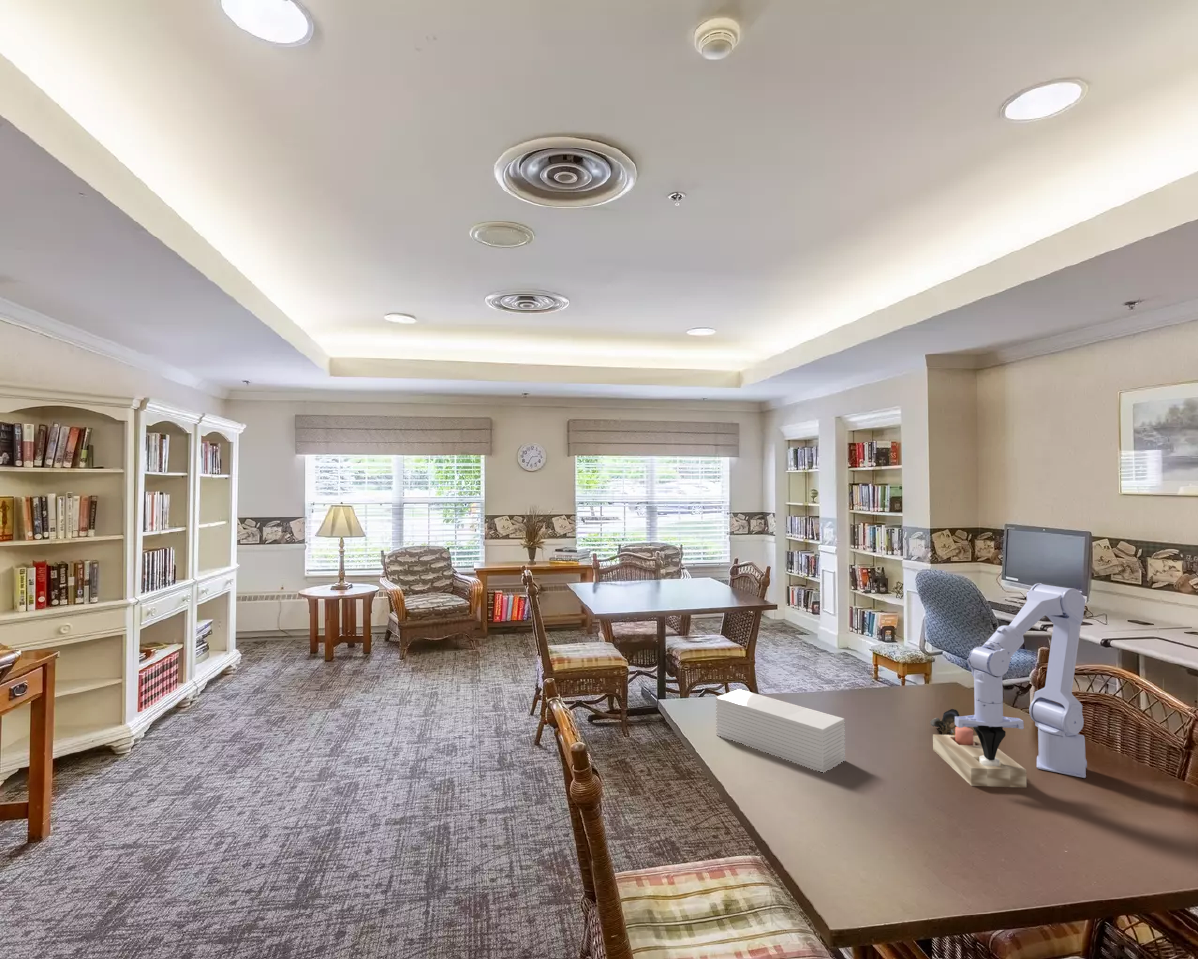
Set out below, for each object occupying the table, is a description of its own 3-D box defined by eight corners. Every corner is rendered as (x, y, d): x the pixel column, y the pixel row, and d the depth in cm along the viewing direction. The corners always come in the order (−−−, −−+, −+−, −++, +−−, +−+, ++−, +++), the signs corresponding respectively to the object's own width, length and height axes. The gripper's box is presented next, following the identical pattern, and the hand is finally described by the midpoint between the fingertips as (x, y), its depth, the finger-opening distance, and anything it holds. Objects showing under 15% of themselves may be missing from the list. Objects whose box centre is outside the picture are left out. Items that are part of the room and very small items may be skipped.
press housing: (981, 751, 164) (981, 735, 164) (1026, 787, 144) (1026, 769, 144) (933, 749, 165) (932, 734, 165) (971, 785, 145) (971, 768, 145)
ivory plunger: (993, 774, 151) (993, 755, 151) (1003, 782, 147) (1002, 762, 147) (976, 774, 151) (976, 755, 151) (985, 781, 147) (984, 762, 147)
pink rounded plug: (968, 744, 163) (968, 726, 163) (976, 750, 159) (976, 732, 159) (952, 743, 163) (952, 726, 163) (960, 750, 159) (959, 732, 159)
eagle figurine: (966, 738, 170) (966, 721, 178) (949, 714, 171) (950, 699, 179) (939, 747, 174) (941, 730, 182) (923, 724, 175) (925, 709, 183)
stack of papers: (845, 761, 159) (844, 718, 159) (823, 774, 152) (822, 729, 152) (739, 726, 183) (739, 688, 183) (716, 736, 176) (716, 697, 176)
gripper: (1011, 694, 152) (1012, 751, 152) (948, 693, 154) (949, 750, 153) (1028, 704, 145) (1029, 764, 145) (962, 703, 147) (963, 762, 146)
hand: (989, 758), depth 149 cm, fingers closed
